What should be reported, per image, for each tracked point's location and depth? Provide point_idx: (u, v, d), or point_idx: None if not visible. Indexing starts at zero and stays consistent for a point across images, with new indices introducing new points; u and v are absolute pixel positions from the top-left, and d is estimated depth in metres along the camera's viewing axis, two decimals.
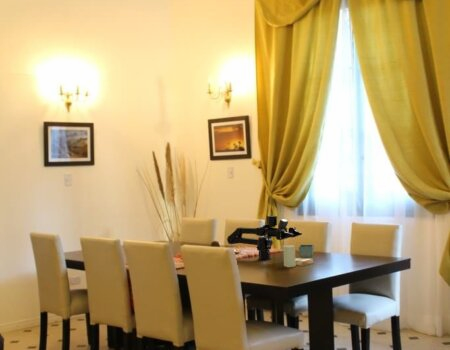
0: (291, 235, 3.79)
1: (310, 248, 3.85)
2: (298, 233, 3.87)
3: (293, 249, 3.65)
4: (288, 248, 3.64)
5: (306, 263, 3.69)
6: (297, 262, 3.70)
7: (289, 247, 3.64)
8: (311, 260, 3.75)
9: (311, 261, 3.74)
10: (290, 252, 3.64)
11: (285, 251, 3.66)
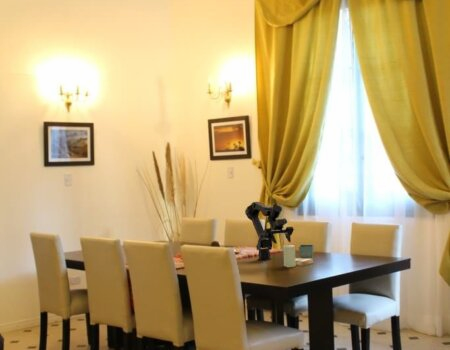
0: (275, 241, 3.72)
1: (310, 248, 3.85)
2: (288, 239, 3.77)
3: (293, 249, 3.65)
4: (288, 248, 3.64)
5: (306, 263, 3.69)
6: (297, 262, 3.70)
7: (289, 247, 3.64)
8: (311, 260, 3.75)
9: (311, 261, 3.74)
10: (290, 252, 3.64)
11: (285, 251, 3.66)
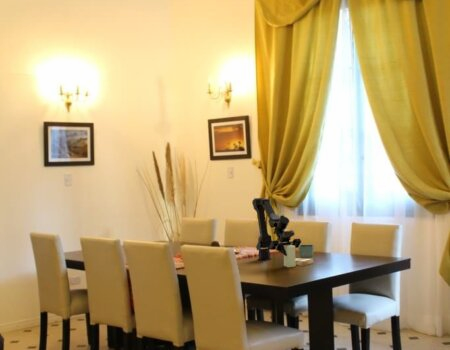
0: (285, 254, 3.65)
1: (310, 248, 3.85)
2: None
3: (293, 249, 3.65)
4: (288, 248, 3.64)
5: (306, 263, 3.69)
6: (297, 262, 3.70)
7: (289, 247, 3.64)
8: (311, 260, 3.74)
9: (311, 261, 3.74)
10: (290, 252, 3.64)
11: None
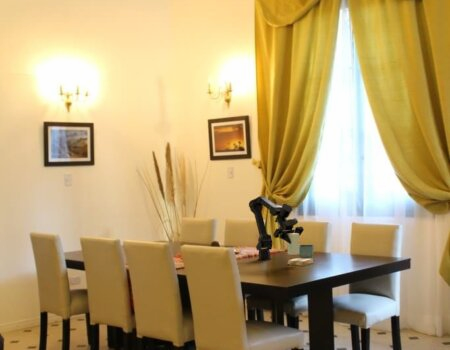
0: (289, 241, 3.67)
1: (310, 248, 3.85)
2: None
3: (297, 237, 3.68)
4: (292, 236, 3.66)
5: (306, 263, 3.69)
6: (297, 262, 3.70)
7: (293, 235, 3.66)
8: (311, 260, 3.74)
9: (311, 261, 3.74)
10: (294, 240, 3.67)
11: None
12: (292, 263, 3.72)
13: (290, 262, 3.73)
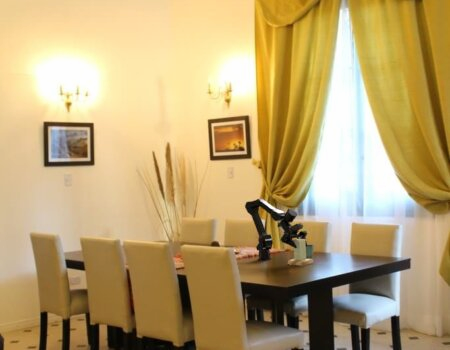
0: (295, 246, 3.71)
1: (310, 248, 3.85)
2: None
3: (304, 242, 3.74)
4: (300, 242, 3.72)
5: (306, 263, 3.69)
6: (297, 262, 3.70)
7: (301, 241, 3.72)
8: (311, 260, 3.74)
9: (311, 261, 3.74)
10: (301, 245, 3.73)
11: (296, 245, 3.73)
12: (292, 263, 3.72)
13: (290, 262, 3.73)
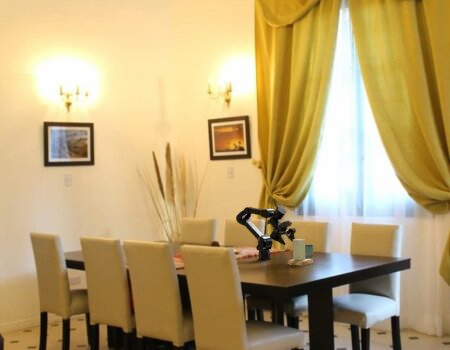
0: (283, 243, 3.78)
1: (310, 248, 3.85)
2: None
3: (303, 242, 3.74)
4: (299, 241, 3.72)
5: (306, 263, 3.69)
6: (297, 262, 3.70)
7: (300, 240, 3.72)
8: (311, 260, 3.74)
9: (311, 261, 3.74)
10: (301, 245, 3.73)
11: (295, 244, 3.74)
12: (292, 263, 3.72)
13: (290, 262, 3.73)
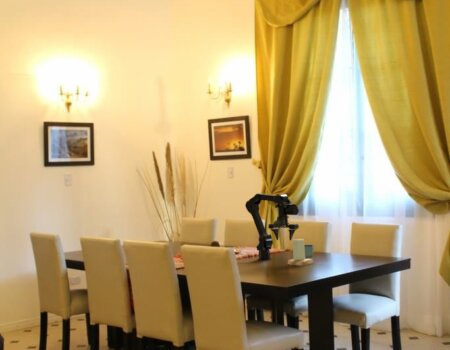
0: None
1: (310, 248, 3.85)
2: None
3: (302, 242, 3.74)
4: (298, 241, 3.72)
5: (306, 263, 3.69)
6: (297, 262, 3.70)
7: (299, 240, 3.72)
8: (311, 260, 3.74)
9: (311, 261, 3.74)
10: (300, 245, 3.73)
11: (295, 244, 3.74)
12: (292, 263, 3.72)
13: (290, 262, 3.73)
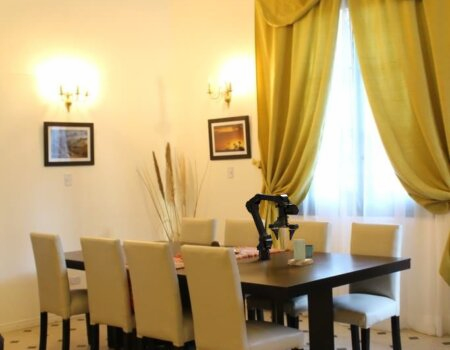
0: None
1: (310, 248, 3.85)
2: None
3: (303, 243, 3.73)
4: (298, 242, 3.72)
5: (306, 263, 3.69)
6: (297, 262, 3.70)
7: (299, 241, 3.72)
8: (311, 260, 3.74)
9: (311, 261, 3.74)
10: (300, 246, 3.72)
11: (295, 245, 3.74)
12: (292, 263, 3.72)
13: (290, 262, 3.73)
